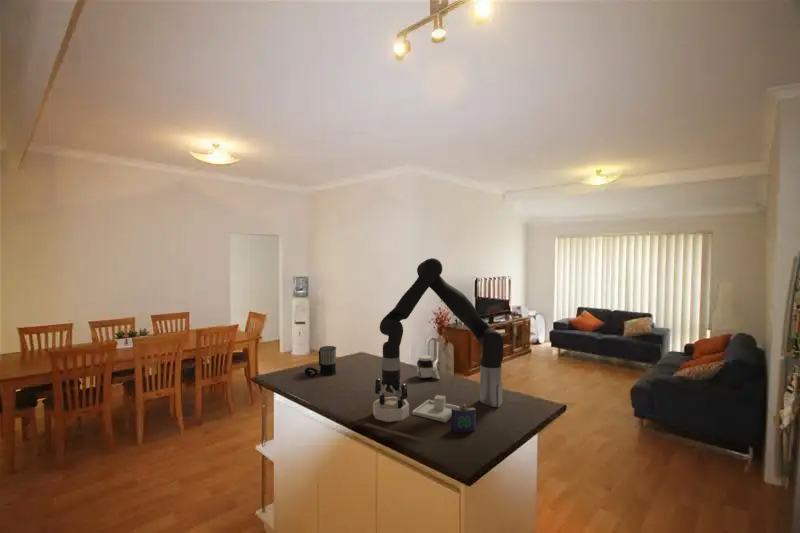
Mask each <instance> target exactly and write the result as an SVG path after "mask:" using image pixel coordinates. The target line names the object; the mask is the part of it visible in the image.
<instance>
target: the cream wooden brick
mask: <svg viewBox="0 0 800 533" xmlns="http://www.w3.org/2000/svg"><path fill="white" fill-rule="evenodd" d="M385 409H388V410H389V409H398V402H396V401H391V400H389V401H387V402H386V403H385Z"/></svg>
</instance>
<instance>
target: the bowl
mask: <svg viewBox="0 0 800 533" xmlns="http://www.w3.org/2000/svg"><path fill="white" fill-rule="evenodd" d="M389 400H391V401H396V402H398V398H397V396H388V397H385V403H386V402H387V401H389ZM379 401H380V399H379V398H378V399H376V400H375V401H373V402H372V413H373V414H372V415H373V416H374V418H375V420H379V421H383V422H387V423H390V422H391V423H392V422H398V421H399V422H401V421H404V420H405V419H406V418H408V417H409V416H410V403H409V402H408V401H407V398H406V399H404V400H403V407H402V408H400V409H389V410H388V409H385V403H384V404H383V405H380V402H379Z"/></svg>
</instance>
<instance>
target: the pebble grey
mask: <svg viewBox="0 0 800 533" xmlns="http://www.w3.org/2000/svg"><path fill="white" fill-rule="evenodd" d="M434 396H435V397H433V398H434V399H433V401H434V410H439V411H444V409H445V408H446V402H447V398H446V395H439V394H436V395H434Z"/></svg>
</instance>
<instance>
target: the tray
mask: <svg viewBox="0 0 800 533" xmlns="http://www.w3.org/2000/svg"><path fill="white" fill-rule="evenodd" d="M456 407H457V408H458V407H459V408H461V406H459V405H455V404H450V403H446V408H445V409H444V411H439V410H434V399H433V400H432V399H427V400H425V401H424V402H422V403H421V404H420V405H419V406H417V407H416V408H414V409H413V410H412V412H411V414H412V415H413V416H418V417H423V418H426V419H430V420H435V421H437V422H438V421H439V422H443V423H447V422H448V421H449V420H450V419H452V409H453V408H456Z"/></svg>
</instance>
